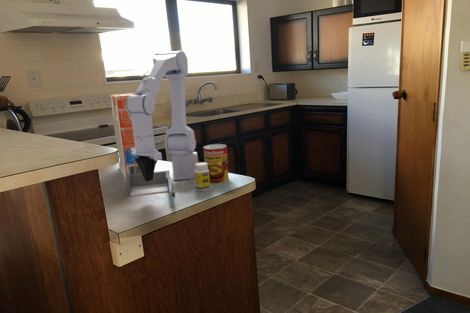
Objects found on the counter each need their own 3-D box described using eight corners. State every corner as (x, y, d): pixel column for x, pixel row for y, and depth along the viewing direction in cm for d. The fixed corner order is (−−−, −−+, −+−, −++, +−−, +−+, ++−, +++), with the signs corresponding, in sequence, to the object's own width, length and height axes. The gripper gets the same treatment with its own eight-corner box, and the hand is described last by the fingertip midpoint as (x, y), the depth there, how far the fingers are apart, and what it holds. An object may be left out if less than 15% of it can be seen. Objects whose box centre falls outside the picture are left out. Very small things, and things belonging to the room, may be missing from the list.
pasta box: (149, 177, 138) (140, 95, 132) (126, 181, 135) (116, 97, 129) (139, 164, 159) (130, 93, 152) (119, 167, 156) (110, 94, 149)
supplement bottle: (204, 192, 118) (202, 166, 116) (192, 190, 121) (190, 164, 119) (213, 187, 122) (211, 162, 120) (201, 186, 124) (199, 161, 123)
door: (169, 191, 120) (168, 177, 119) (174, 190, 120) (173, 177, 119) (170, 206, 106) (168, 191, 105) (176, 205, 106) (174, 190, 105)
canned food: (202, 183, 127) (200, 148, 125) (210, 176, 135) (207, 144, 132) (224, 183, 125) (222, 148, 123) (231, 177, 133) (229, 144, 130)
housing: (170, 182, 130) (169, 170, 129) (171, 191, 121) (170, 177, 120) (128, 187, 127) (127, 174, 126) (126, 196, 118) (124, 182, 117)
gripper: (119, 135, 113) (125, 179, 116) (143, 140, 102) (149, 188, 105) (140, 132, 117) (145, 173, 120) (166, 136, 107) (170, 182, 110)
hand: (148, 180), depth 113 cm, fingers closed
